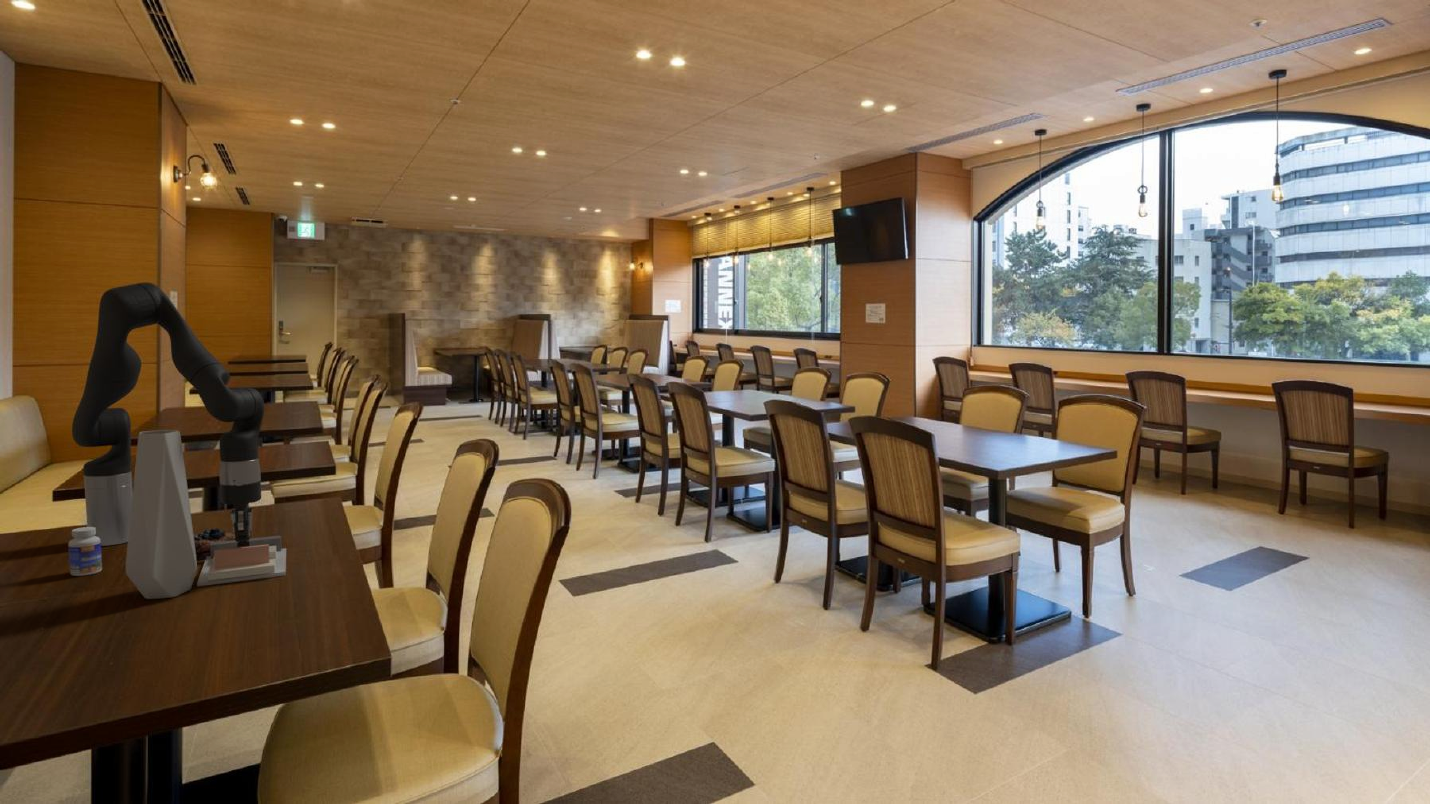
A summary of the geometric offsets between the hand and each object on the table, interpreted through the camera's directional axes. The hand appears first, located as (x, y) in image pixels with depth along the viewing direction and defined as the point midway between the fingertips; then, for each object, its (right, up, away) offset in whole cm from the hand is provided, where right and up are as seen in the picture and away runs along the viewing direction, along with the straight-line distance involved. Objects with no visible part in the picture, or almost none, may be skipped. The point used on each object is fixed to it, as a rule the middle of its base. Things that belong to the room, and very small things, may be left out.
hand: (244, 557), depth 167 cm
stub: (+2, -3, -3) cm, 4 cm away
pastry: (-18, -2, +15) cm, 24 cm away
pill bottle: (-34, -3, -1) cm, 34 cm away
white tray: (-2, -3, +4) cm, 6 cm away
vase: (-8, -5, -12) cm, 15 cm away
